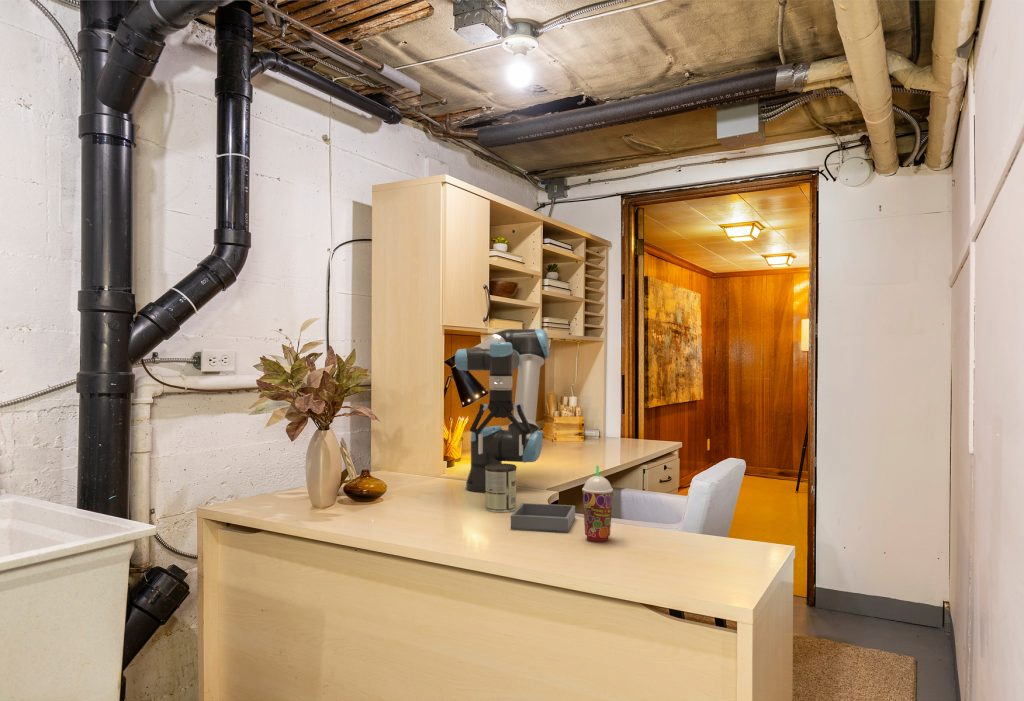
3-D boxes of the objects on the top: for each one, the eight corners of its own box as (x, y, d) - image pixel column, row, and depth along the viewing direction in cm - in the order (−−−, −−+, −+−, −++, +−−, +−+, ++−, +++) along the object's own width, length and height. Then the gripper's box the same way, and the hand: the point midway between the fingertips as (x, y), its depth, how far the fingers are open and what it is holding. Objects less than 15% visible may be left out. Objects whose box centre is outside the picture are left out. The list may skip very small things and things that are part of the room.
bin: (522, 515, 205) (522, 503, 205) (575, 518, 201) (575, 505, 201) (510, 529, 189) (510, 515, 189) (568, 532, 185) (568, 518, 185)
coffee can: (487, 505, 220) (487, 463, 220) (517, 505, 219) (517, 463, 219) (482, 512, 210) (482, 468, 210) (515, 513, 209) (515, 468, 209)
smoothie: (593, 545, 173) (593, 469, 173) (576, 537, 181) (576, 464, 181) (619, 541, 177) (619, 466, 177) (601, 533, 184) (601, 462, 185)
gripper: (460, 389, 214) (460, 454, 213) (536, 390, 208) (536, 457, 208) (467, 388, 221) (467, 451, 221) (540, 389, 216) (540, 454, 215)
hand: (500, 454), depth 214 cm, fingers open, 13 cm apart
